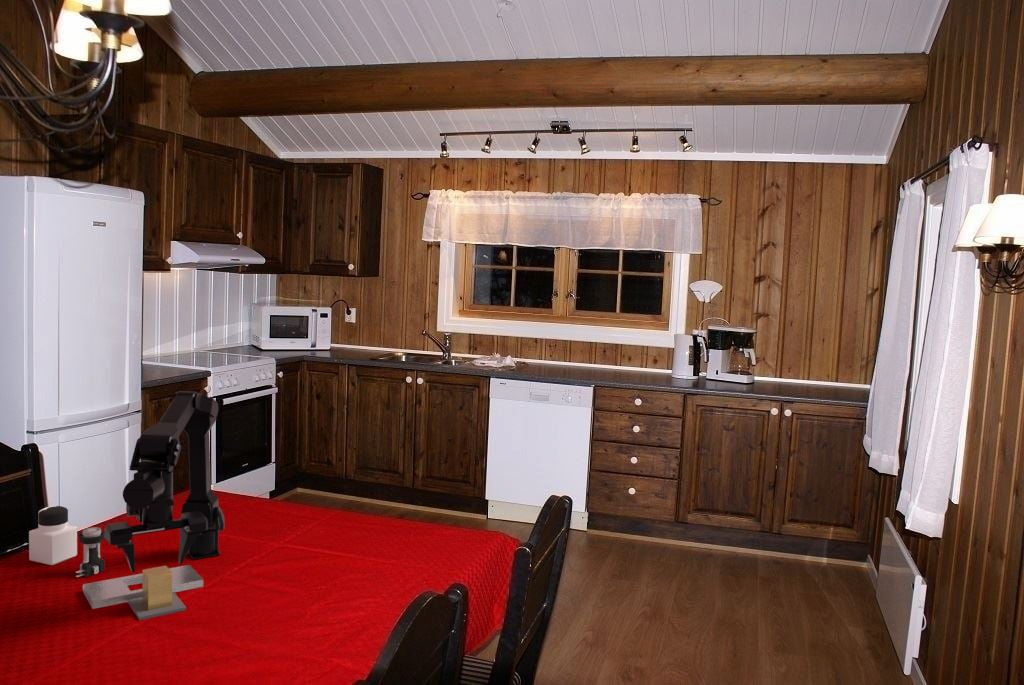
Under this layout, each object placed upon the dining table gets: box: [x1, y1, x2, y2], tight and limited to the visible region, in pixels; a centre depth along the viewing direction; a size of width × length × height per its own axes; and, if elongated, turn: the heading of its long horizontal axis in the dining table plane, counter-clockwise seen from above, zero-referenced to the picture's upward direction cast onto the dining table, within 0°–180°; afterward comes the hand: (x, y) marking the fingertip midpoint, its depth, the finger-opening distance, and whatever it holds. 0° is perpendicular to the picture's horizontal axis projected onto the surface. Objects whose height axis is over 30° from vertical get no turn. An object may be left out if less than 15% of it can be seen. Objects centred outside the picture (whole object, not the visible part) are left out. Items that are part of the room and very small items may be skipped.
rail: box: [82, 564, 204, 610], centre depth 176 cm, size 22×10×2 cm, turn 128°
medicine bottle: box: [28, 505, 78, 566], centre depth 189 cm, size 7×7×12 cm
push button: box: [75, 526, 106, 578], centre depth 182 cm, size 7×5×10 cm
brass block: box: [141, 565, 172, 611], centre depth 167 cm, size 5×5×7 cm
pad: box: [127, 592, 187, 621], centre depth 168 cm, size 9×9×1 cm
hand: (157, 567), depth 167 cm, fingers open, 9 cm apart
